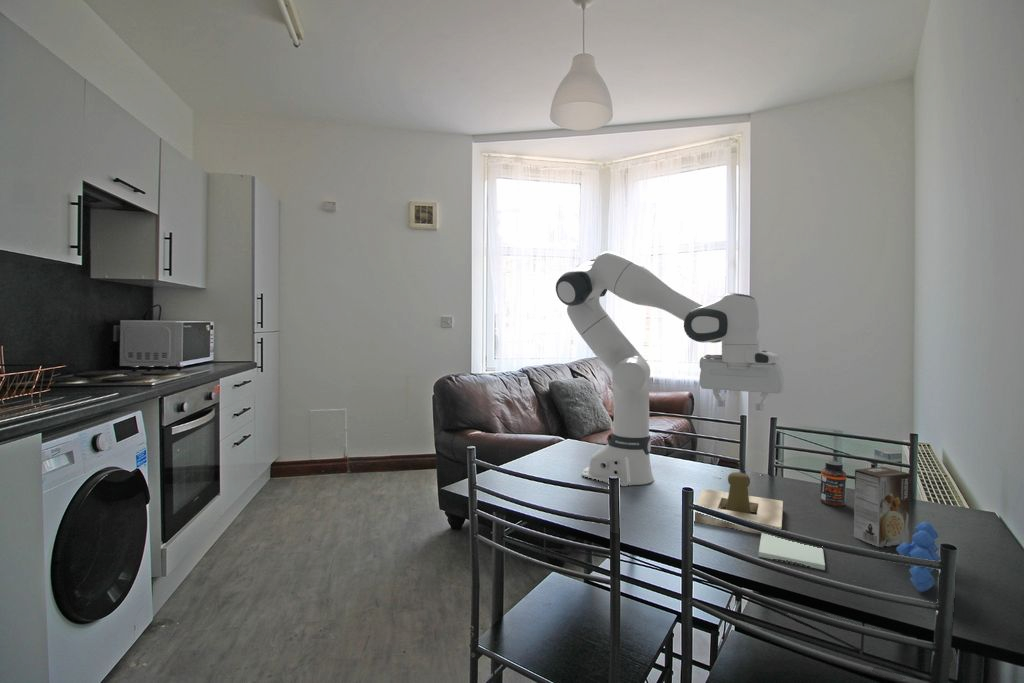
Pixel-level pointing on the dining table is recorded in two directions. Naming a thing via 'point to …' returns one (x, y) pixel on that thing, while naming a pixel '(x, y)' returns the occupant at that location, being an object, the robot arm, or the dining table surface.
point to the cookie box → (882, 506)
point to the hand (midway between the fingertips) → (740, 408)
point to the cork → (738, 493)
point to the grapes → (921, 554)
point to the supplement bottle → (833, 484)
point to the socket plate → (765, 509)
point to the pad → (791, 551)
